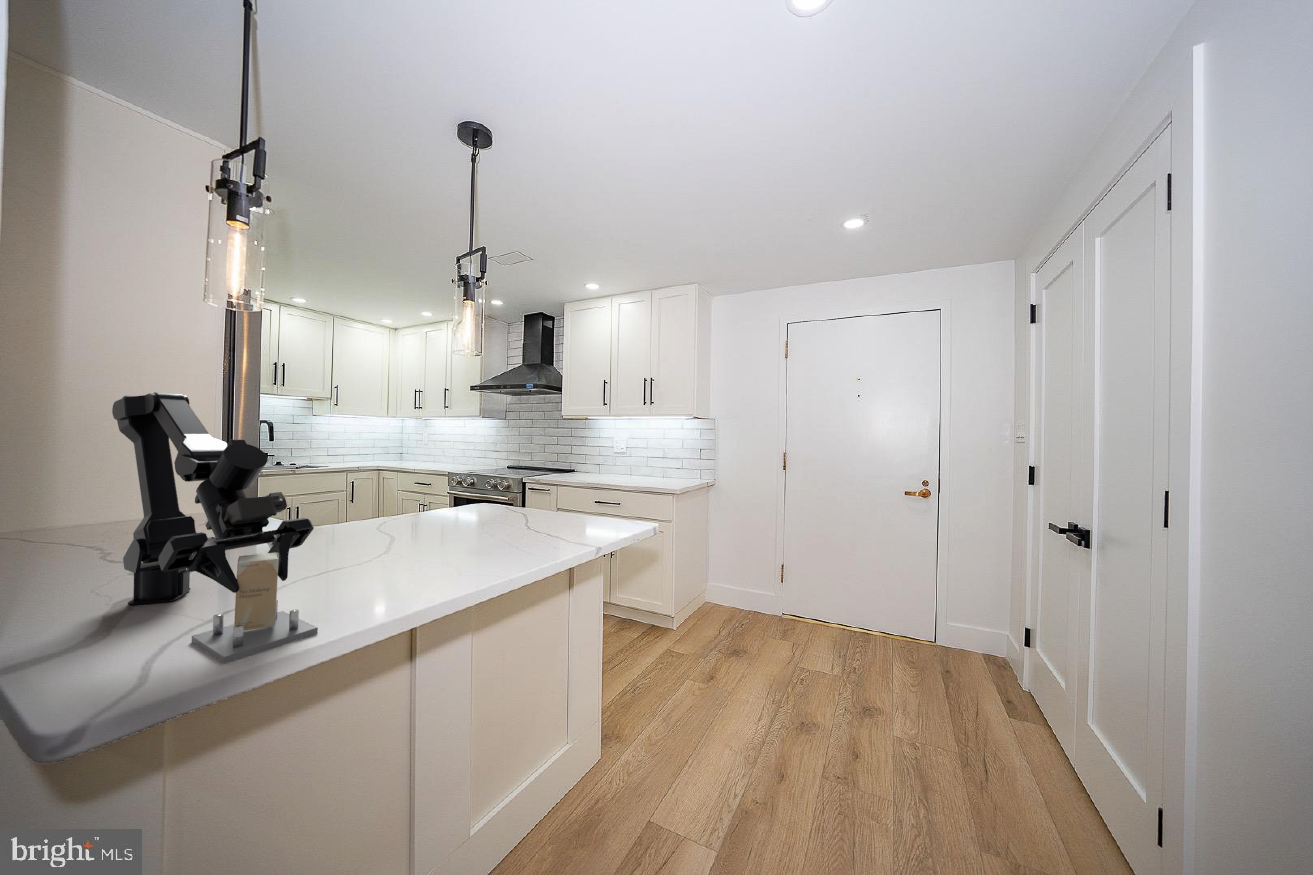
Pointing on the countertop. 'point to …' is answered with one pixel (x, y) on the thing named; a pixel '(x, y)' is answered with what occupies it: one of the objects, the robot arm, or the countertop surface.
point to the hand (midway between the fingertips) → (261, 584)
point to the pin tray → (252, 636)
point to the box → (256, 590)
